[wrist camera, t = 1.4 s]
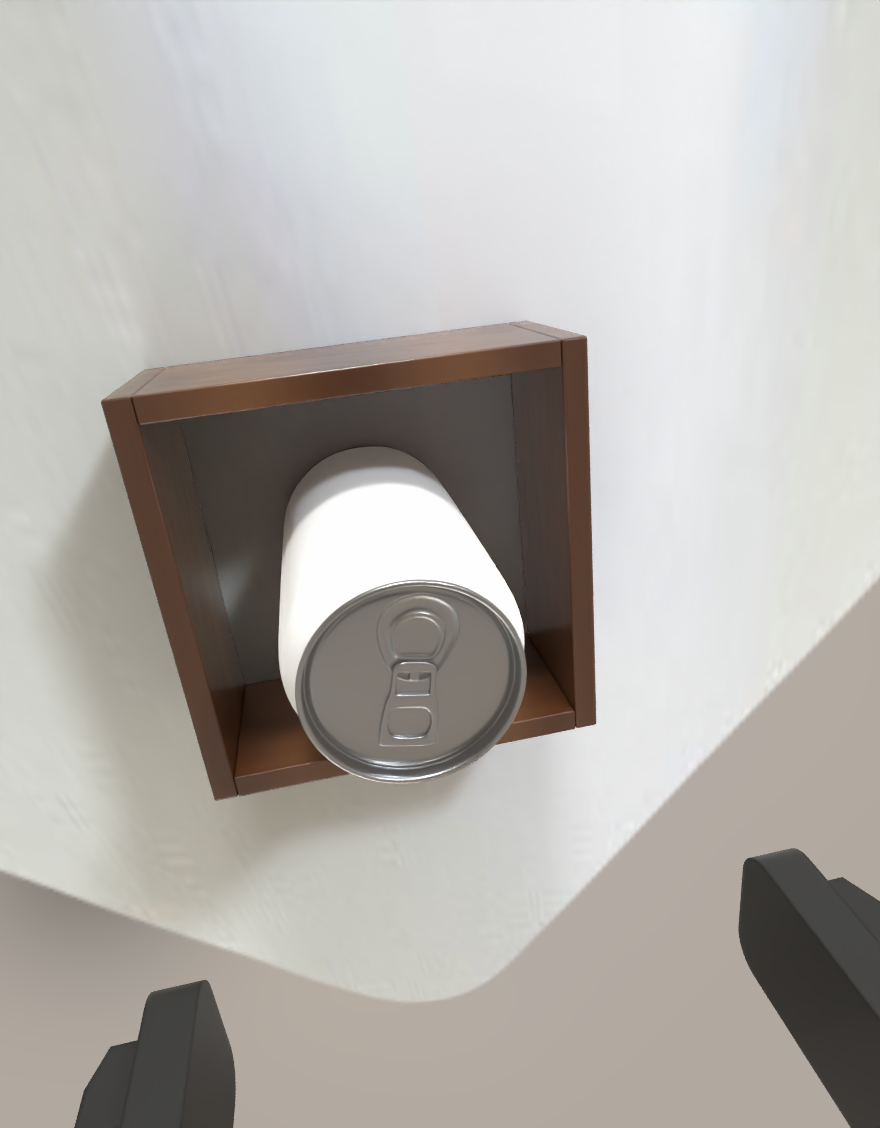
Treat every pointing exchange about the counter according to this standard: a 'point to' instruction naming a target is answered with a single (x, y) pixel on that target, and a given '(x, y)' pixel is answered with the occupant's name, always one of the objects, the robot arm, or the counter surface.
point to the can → (394, 622)
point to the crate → (166, 395)
